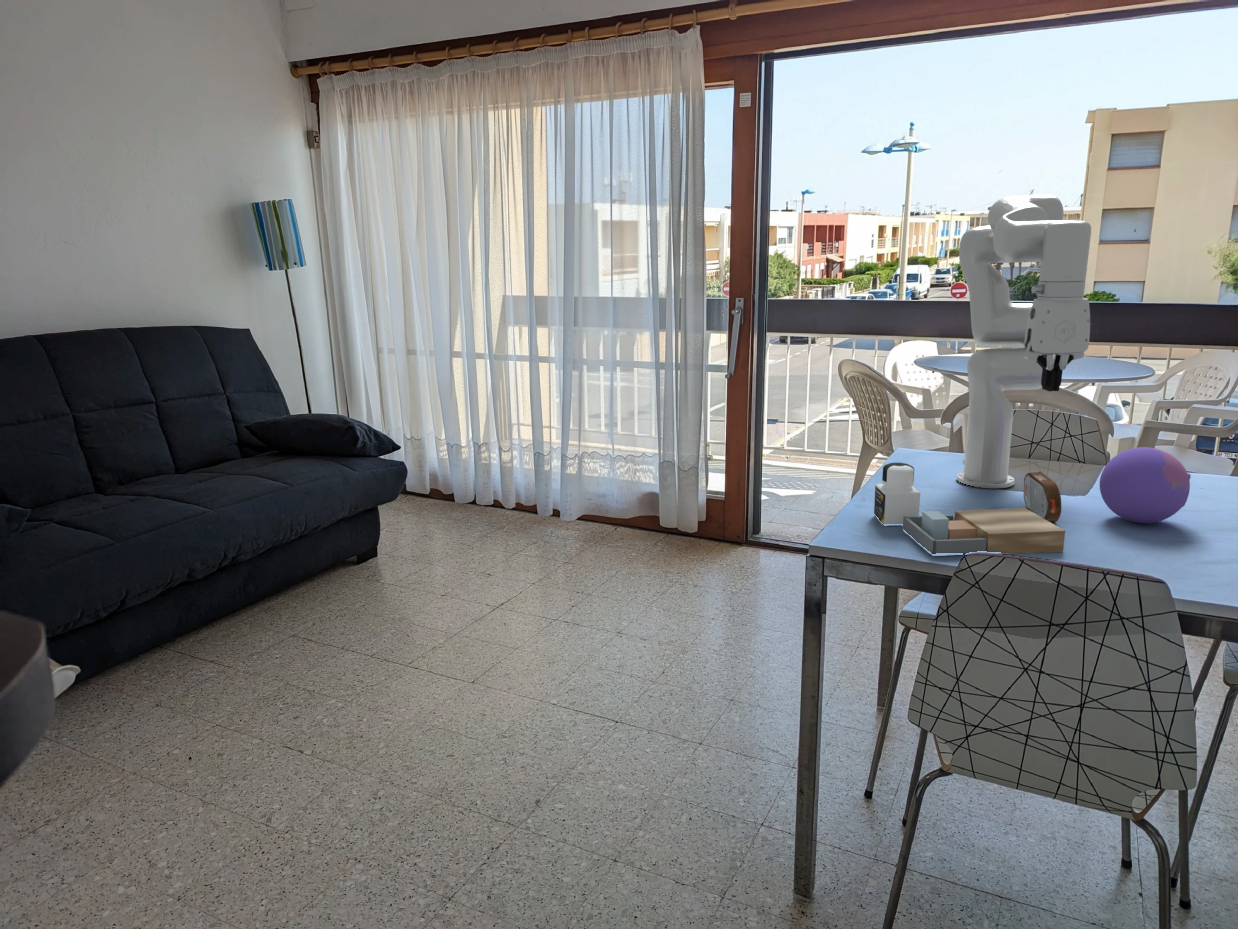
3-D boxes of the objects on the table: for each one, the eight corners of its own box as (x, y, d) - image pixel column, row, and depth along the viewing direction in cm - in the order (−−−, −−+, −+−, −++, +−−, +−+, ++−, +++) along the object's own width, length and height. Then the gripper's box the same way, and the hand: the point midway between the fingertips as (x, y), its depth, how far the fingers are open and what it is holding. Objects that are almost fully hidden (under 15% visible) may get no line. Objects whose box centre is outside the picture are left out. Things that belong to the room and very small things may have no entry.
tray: (902, 531, 161) (903, 516, 160) (950, 529, 161) (952, 514, 161) (932, 557, 147) (933, 541, 146) (985, 554, 147) (986, 539, 147)
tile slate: (936, 535, 156) (920, 536, 156) (938, 511, 155) (922, 511, 155) (947, 544, 152) (931, 545, 152) (949, 519, 150) (932, 519, 150)
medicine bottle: (873, 516, 171) (876, 460, 168) (907, 515, 171) (911, 460, 168) (882, 526, 164) (885, 469, 161) (918, 526, 164) (922, 468, 161)
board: (953, 530, 161) (954, 510, 160) (1023, 527, 161) (1025, 508, 160) (986, 554, 147) (988, 533, 146) (1063, 551, 148) (1065, 530, 147)
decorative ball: (1196, 535, 154) (1208, 458, 150) (1107, 530, 158) (1116, 455, 154) (1168, 512, 168) (1178, 441, 164) (1086, 508, 172) (1095, 438, 168)
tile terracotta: (937, 536, 156) (938, 521, 156) (963, 535, 156) (964, 520, 156) (948, 544, 151) (949, 529, 151) (975, 543, 152) (976, 528, 151)
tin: (1061, 527, 161) (1065, 486, 159) (1044, 527, 161) (1048, 486, 159) (1034, 505, 175) (1038, 467, 173) (1019, 505, 176) (1022, 467, 174)
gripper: (1030, 293, 145) (1020, 395, 150) (1113, 290, 146) (1101, 392, 150) (1010, 291, 153) (1001, 388, 158) (1089, 288, 153) (1078, 385, 158)
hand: (1050, 389), depth 154 cm, fingers closed
